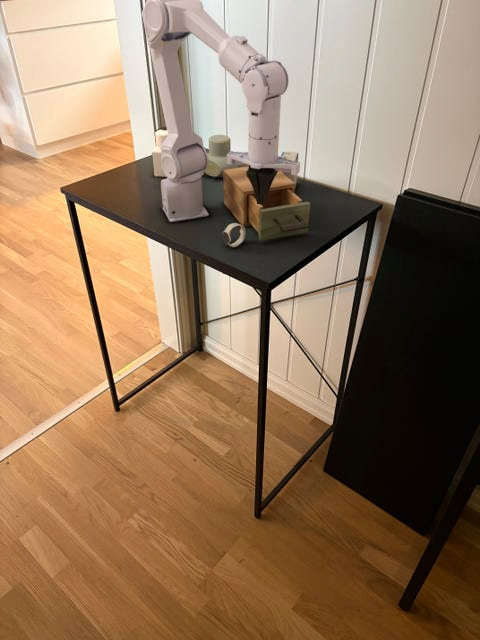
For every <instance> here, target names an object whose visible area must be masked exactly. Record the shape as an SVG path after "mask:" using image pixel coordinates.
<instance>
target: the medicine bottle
mask: <svg viewBox="0 0 480 640" xmlns="http://www.w3.org/2000/svg"><path fill="white" fill-rule="evenodd" d="M167 136H168V132H167V127H166V126H161V127H159V128H157V129H155V131H154V137H155V138H154V139H155V145H156V146H155V147H154V148H153V150H152V151H151V156H152V157H151V158H152V168H153V175H154V177H156V178H157V177H159V178H168V177H167V176H166V175H165V174H164V172H163V170H162V166H161V149H160V147H161V145H162V143H163V142H164V140H165V139H166V138H167ZM182 148H183V147H182Z"/></svg>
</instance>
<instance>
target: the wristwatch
mask: <svg viewBox="0 0 480 640" xmlns="http://www.w3.org/2000/svg"><path fill="white" fill-rule="evenodd" d="M236 227H240V229H239V233H240V235H239V237H238V239H237V240H236V241H234V242H233V243H231V242H232V239H231V231H232V230H233V229H234V228H236ZM246 231H247V230H246V227H244V226H242V225H241V224H240V223H237V222H233V223H230V224H228V225H227V227H225V229H224V231H222V234H221V237H222V238H221V239H222V241H223V242H224V244H226V245H227V246H229V247H230V248H236V247H238V246H240V245H241V244H242V243H243V242H244V240H245V238H246V234H247V233H246Z"/></svg>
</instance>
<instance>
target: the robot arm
mask: <svg viewBox="0 0 480 640" xmlns="http://www.w3.org/2000/svg"><path fill="white" fill-rule="evenodd" d="M141 17H142V21H143V26H144V32H145V35H146V36H145V37H146V40H147V45H148V47H149V50H150V55H151V61H152V64H153V66H152V67H153V70H154V75H155V81H156V83H157V84H156V85H157V89H158V93H159V94H158V95H159V98H160V102H161V107H162V112H163V116H164V122H165V127H167V132H168V136H167V138H166V139H165V140H164V142H163V143H162V145H161V147H160V149H161V166H162V170H163V172H164V174H165V175H166V176H167V177H166V178H164V179H161V180H160V191H161V201H162V210H163V212H164V213H165V216H166V217H167V219H168V222H170V223H174V222H175V223H176V222H181V221H186V220H193V219H198V218H199V219H200V218H205V217H208V216H209V212H208V211H207V209H206V208H205V206H204V199H203V195H204V194H203V177H202V176H204V175H205V172H204V170H205V169H206V168H207V166H208V154H207V153H208V152H207V150H206V148H205V146H204V142H203V137H201V136H200V135H199V134H197V133H196V132H194V130H193V127H192V122H191V117H190V112H189V106H188V102H187V95H186V91H185V85H184V80H183V75H182V69H181V64H180V58H179V54H178V51H179V49H180V47H181V45H182V43H184V41H185V40H187V38H188V37H189V36H191V34H192V35H193V36H194V37H196V38H197V39H198V40H200V41H201V42H202V43H204V44H205V45H206V46H207V47H208V48H210V49H211V50H212V51H214V52H215V53H217V54H218V57H217V58H218V63H219V64H220V66H221V67H222V68H223V69H225V71H227V73H229V74H230V75H231V76H233V78H234V79H235V80H236V81H238V82H239V83H240V84H241V89H242V92H243V95H244V96H245V99H246V108H247V111H248V147H247V148H248V149H247V151H235V150H233V151H232V150H231V152H230V153H228V154H227V164H233V163H234V164H240V166H245V167H248V166H249V168H248V170H247V171H246V176H247V177H248V179H249V181H250V183H251V185H252V187H253V190H254V193H255V197H256V202H257V204H260V205H264V203H265V202H266V201H267V196H268V193H269V190H270V187H271V184H272V182H273V180H274V178H275V176H276V174H277V172H278V171H281V172H287V173H291V174H292V175H297V176H298V174H299V173H300V170H301V161H298V162H296V161H292V160H289V159H286V158H283V157H281V155H279V143H280V124H281V123H280V122H281V103H282V95H284V94H285V93H286V91H287V90H288V87H289V74H288V71H287V69H286V67H285V66H284V65H283V63H282V62H281V61H280V60H277V59H276V60H269V59H266V58H267V57H266V56H265V55H264V54H263V53H260V52H258V50H256V49H255V48H254V47H253V46H251V45H250V44H249V43H248V41H249V39H247V37H245V35H241V36H239V35H232V36H230V35H229V34H228V33H227V32H226V30H224V29H223V28H222V27H221V26H220V25H219V24H218V23H217V22H216V21H215V20H214V19H213V18H212V16H210V14H209V13H207V11H205V9H204V5H203V2H202V1H201V0H146V2H145V3H144V6H143V9H142V11H141ZM182 147H183V148H182Z"/></svg>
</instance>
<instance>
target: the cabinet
mask: <svg viewBox="0 0 480 640" xmlns="http://www.w3.org/2000/svg"><path fill="white" fill-rule="evenodd" d="M248 168H249V166H240V167H239V168H233V169H226V170H223V179H222V181H223V204H224V205H225V206H226V208H227V209H228V211H230V213H231V214H232V215H233V216H234V218H235V219H236V220H237V221H238V222H239V224H240V225H242V226H244V227H245V228H246V227H253V226H252V225H251V224H250V222H249V221H248V220H247V194H254V190H253V187H252V185H251V183H250V181H249V179H248V177H247V176H246V171H247V170H248ZM285 188H289V189H290V190H291V191H292V192H293V193H295V192H296V187H295V183H294V182H293V181H292V180H290V179H289V178H288V177H287V176H286V175H285V174H283V173H282V172H281V171H278V172H277V174H276V176H275V178H274V180H273V182H272V184H271V187H270V190H269V191H273V190H279V189H285ZM295 194H296V193H295Z"/></svg>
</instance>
